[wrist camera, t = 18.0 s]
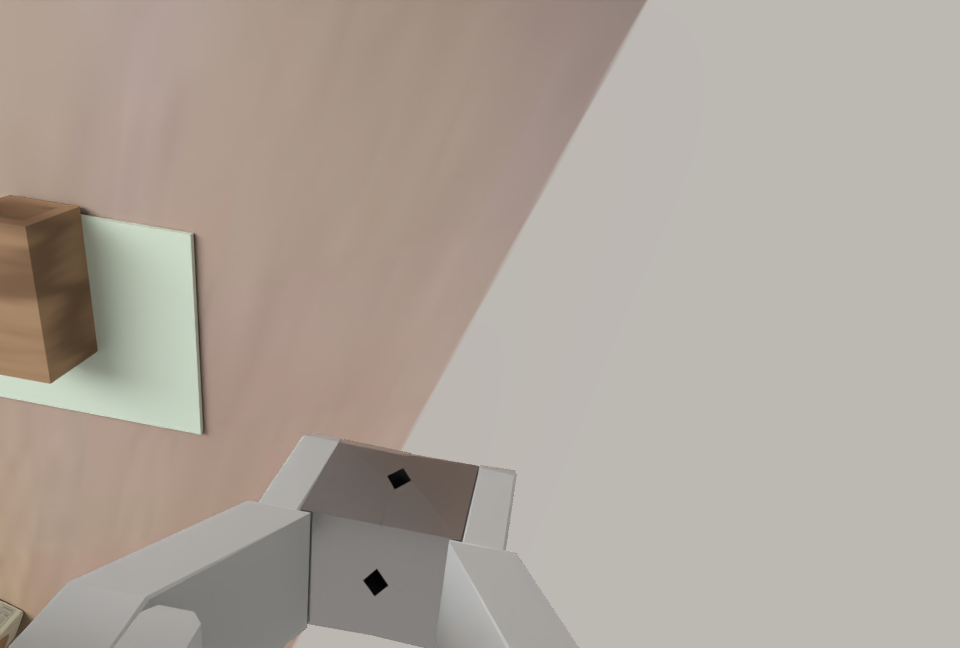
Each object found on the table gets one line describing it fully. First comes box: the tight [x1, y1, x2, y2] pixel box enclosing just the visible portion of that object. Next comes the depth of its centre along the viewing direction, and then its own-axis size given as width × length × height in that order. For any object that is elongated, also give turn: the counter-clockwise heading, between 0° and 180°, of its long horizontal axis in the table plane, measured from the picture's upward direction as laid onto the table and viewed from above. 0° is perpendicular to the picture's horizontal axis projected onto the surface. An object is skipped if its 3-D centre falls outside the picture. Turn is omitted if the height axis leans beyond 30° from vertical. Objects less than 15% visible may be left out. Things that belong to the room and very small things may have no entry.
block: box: [0, 195, 98, 384], centre depth 47 cm, size 5×5×11 cm
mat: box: [0, 214, 203, 434], centre depth 50 cm, size 16×18×1 cm
